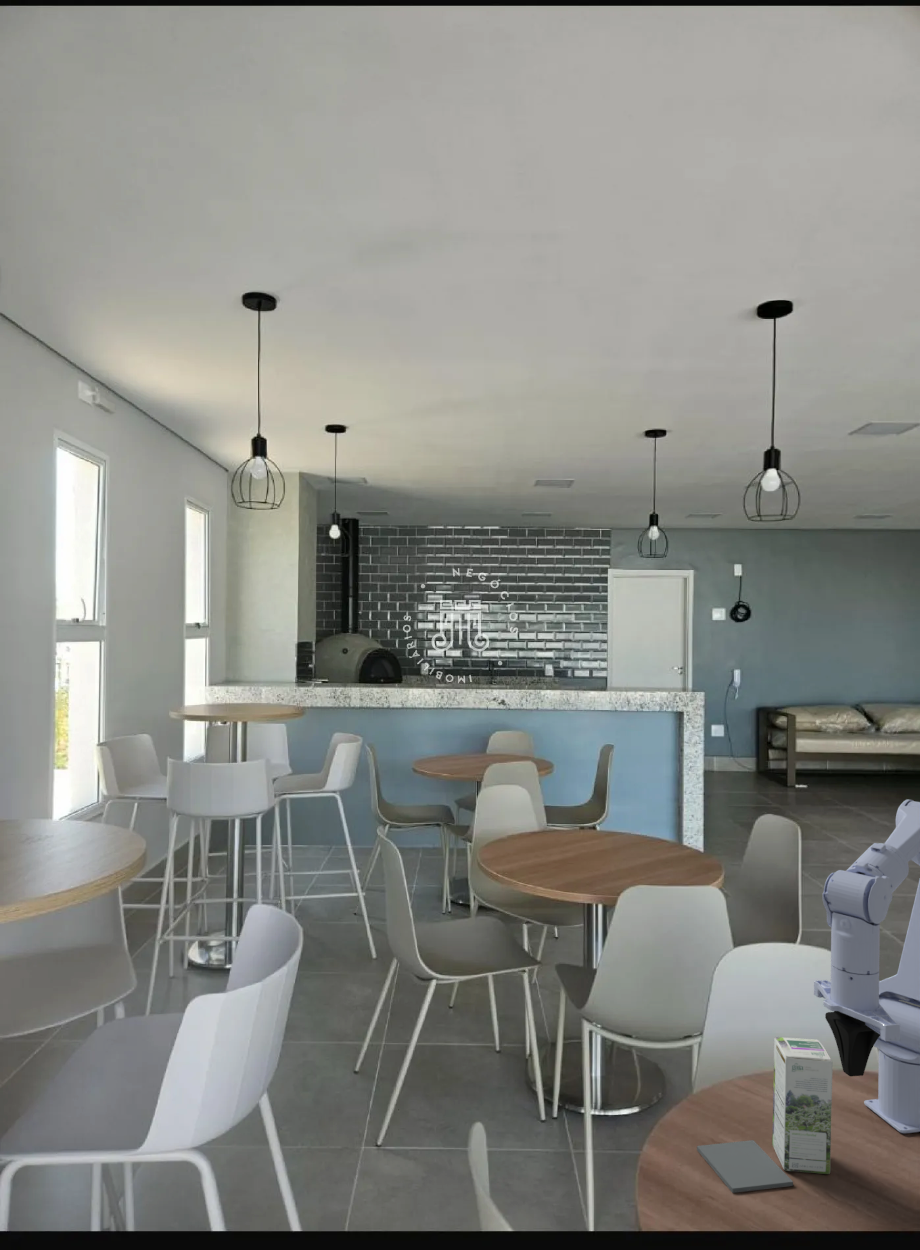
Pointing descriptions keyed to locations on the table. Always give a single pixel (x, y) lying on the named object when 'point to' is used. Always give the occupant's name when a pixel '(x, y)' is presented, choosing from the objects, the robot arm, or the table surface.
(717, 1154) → the pad
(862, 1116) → the table surface
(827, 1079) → the syrup box
